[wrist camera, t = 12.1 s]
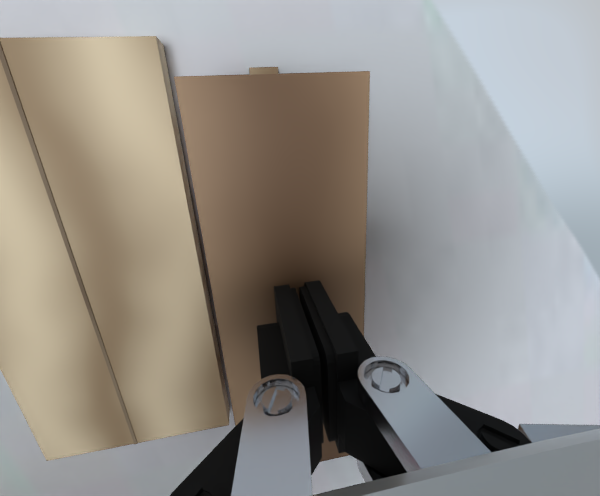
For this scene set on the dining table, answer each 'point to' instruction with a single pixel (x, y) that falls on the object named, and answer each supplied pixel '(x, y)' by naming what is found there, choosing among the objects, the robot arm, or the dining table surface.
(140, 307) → the board
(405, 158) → the dining table surface
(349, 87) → the brown wooden block
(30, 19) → the dining table surface
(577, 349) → the dining table surface
